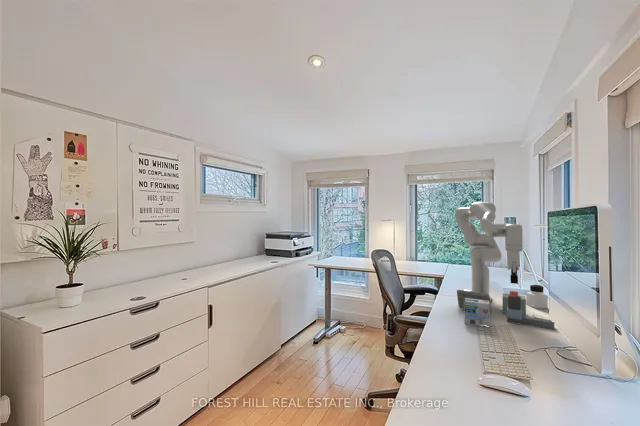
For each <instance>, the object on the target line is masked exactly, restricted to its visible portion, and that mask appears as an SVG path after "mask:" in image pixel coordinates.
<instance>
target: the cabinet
mask: <svg viewBox="0 0 640 426" xmlns="http://www.w3.org/2000/svg"><path fill="white" fill-rule="evenodd" d="M508 295H510V293H502V315H506V316H507V306H508ZM518 297H521V308H522V316H527V304H526V295H519V294H518Z"/></svg>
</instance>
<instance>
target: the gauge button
mask: <svg viewBox="0 0 640 426" xmlns="http://www.w3.org/2000/svg"><path fill="white" fill-rule="evenodd" d="M509 294H510V296H518V295H519V292H518V291H517V290H510V291H509Z"/></svg>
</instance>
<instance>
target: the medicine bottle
mask: <svg viewBox="0 0 640 426" xmlns="http://www.w3.org/2000/svg"><path fill="white" fill-rule="evenodd" d="M529 290H530V291H527V292H526V293H525V297H526V306H529V307H532V308H534V309H548V307H549V306H548V304H549V303H548V301H549V300H548V297H549V296H548V295H547V294H544V286H543V285H540V284H531V285H530V286H529Z"/></svg>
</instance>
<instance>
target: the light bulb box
mask: <svg viewBox="0 0 640 426" xmlns="http://www.w3.org/2000/svg"><path fill="white" fill-rule="evenodd" d="M490 306H491V302H490V303H489V301H487V300H478V299H470V298H465V304H464V311H463V313H464V315H463V318H464V319H463V321H464V324H466V325H472V326H477V325H487V326H489V327H490V320H491V319H490V315H491V312H490Z"/></svg>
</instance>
